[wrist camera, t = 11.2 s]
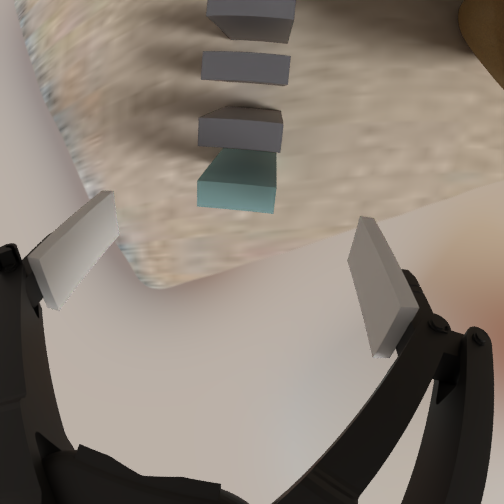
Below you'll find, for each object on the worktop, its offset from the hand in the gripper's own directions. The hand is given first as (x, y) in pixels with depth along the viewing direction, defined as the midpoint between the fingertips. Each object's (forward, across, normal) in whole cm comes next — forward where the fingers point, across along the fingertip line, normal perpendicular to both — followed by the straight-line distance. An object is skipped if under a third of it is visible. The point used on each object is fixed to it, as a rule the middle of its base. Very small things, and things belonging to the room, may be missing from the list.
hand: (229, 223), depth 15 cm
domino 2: (+14, 0, +8) cm, 16 cm away
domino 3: (+14, 0, +4) cm, 15 cm away
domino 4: (+14, 0, 0) cm, 14 cm away
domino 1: (+14, 0, +12) cm, 19 cm away
